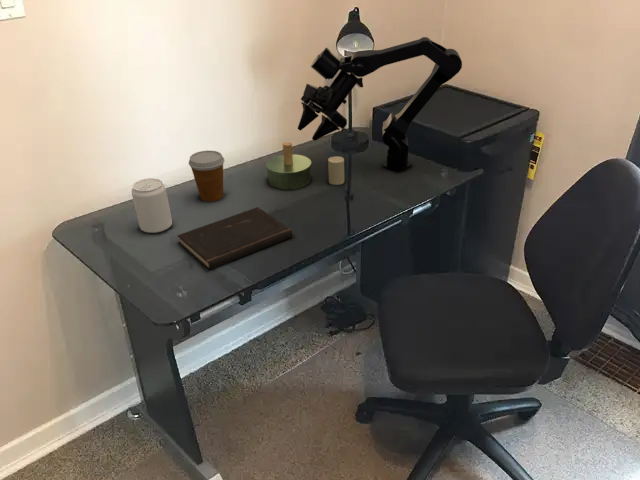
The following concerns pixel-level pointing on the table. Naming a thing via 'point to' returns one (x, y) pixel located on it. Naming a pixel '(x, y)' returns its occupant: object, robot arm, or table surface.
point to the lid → (288, 162)
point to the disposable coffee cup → (208, 174)
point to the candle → (336, 170)
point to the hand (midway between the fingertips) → (305, 134)
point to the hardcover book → (234, 237)
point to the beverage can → (151, 205)
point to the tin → (289, 180)
